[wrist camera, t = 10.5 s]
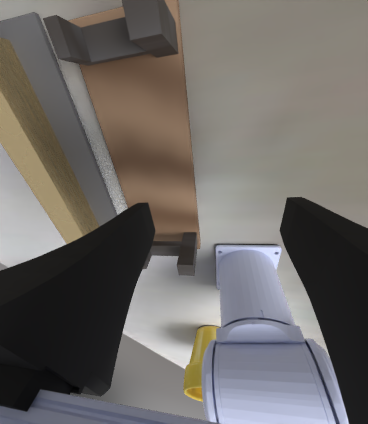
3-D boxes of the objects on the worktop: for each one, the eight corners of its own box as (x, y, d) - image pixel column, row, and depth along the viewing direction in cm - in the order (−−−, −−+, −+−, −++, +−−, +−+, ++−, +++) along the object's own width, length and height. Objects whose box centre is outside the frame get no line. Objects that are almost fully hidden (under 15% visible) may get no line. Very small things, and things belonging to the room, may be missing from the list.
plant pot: (248, 336, 36) (259, 405, 28) (212, 346, 41) (212, 407, 33) (214, 315, 33) (214, 385, 25) (179, 328, 39) (170, 390, 31)
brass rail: (108, 244, 26) (97, 260, 23) (90, 244, 26) (77, 260, 24) (9, 39, 14) (-35, 28, 11) (-20, 47, 14) (-69, 37, 12)
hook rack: (200, 243, 24) (197, 282, 19) (144, 242, 25) (127, 279, 20) (178, 0, 12) (153, -69, 7) (73, 26, 13) (-11, -16, 8)
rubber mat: (130, 247, 26) (129, 249, 26) (77, 246, 28) (75, 248, 27) (38, 14, 13) (33, 12, 13) (-52, 38, 15) (-58, 37, 14)
